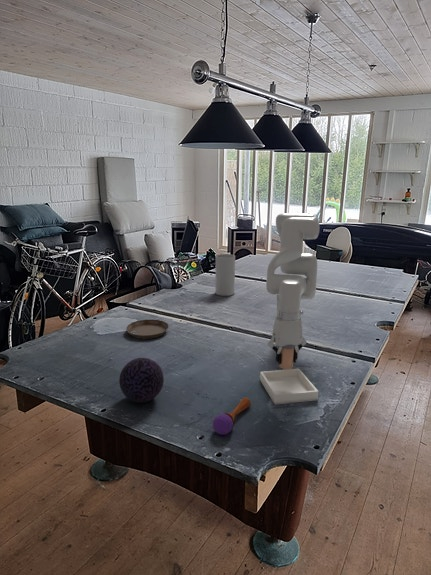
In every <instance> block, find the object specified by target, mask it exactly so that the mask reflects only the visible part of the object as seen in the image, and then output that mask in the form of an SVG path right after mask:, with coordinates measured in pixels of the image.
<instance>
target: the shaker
mask: <svg viewBox="0 0 431 575" xmlns="http://www.w3.org/2000/svg"><path fill="white" fill-rule="evenodd" d="M281 354H282V358H281V364H279V363H278V367H279V368H280V369H281V370H287V369H294V362H293V357H294V345H291V346H282V349H281Z"/></svg>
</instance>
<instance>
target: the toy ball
mask: <svg viewBox="0 0 431 575" xmlns="http://www.w3.org/2000/svg"><path fill="white" fill-rule="evenodd" d="M118 379H119V381H118V382H119V388H120V390H121V393H123V395H124V396H125V397H126V399H128V400H130V401H132V402H134V403H146V402H150V401H152V400H153V399H154V398H157V396H158V395H159V394H160V393H161V391H162V389H163V386H164V380H165V378H164V372H163V370H162V368H161V366H160V365H159V364H158V363H157V362H156V361H155V360H152V359H151V358H147V357H138V358H134V359H131V360H130V361H129V362H127V363H126V364H125V365H124V367H123V368H122V369H121V372H120V375H119V378H118Z"/></svg>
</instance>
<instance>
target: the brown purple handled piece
mask: <svg viewBox="0 0 431 575" xmlns="http://www.w3.org/2000/svg"><path fill="white" fill-rule="evenodd" d="M251 404H252V401H251V400H250V398H248V397H243V398H242V399H241V400H240V402H239V403H238V405H236V406H235V409H233V411H232V413H231V412H230V413H229V412H225V413H220V414H218V415H217V416H215V417H214V419H213V421H212V427H213V428H212V429H213V430H214V432H216V433H217V434H218V435H221V436H222V435H228V434H229V433H230V432H231V431H232V429H233V425H234V423H235V416H237V415H238V414H240V413H241V412H243V411H245V410H246V409H247V408H249V407H250V406H251Z"/></svg>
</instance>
